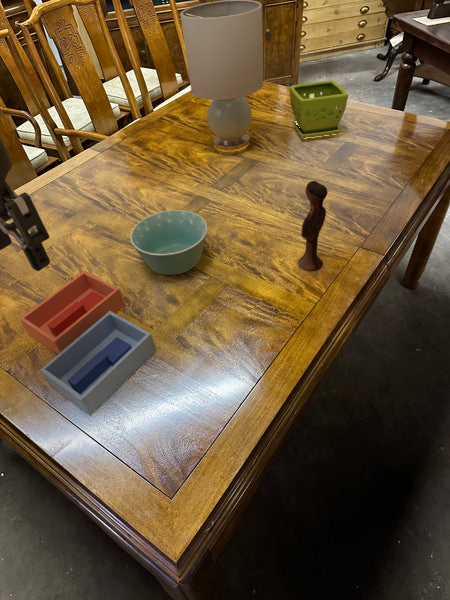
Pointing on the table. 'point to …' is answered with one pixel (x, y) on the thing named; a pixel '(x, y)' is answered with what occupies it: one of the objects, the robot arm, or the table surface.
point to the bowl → (170, 240)
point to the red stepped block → (74, 313)
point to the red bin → (62, 301)
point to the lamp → (225, 65)
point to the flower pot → (318, 108)
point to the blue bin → (88, 348)
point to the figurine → (313, 226)
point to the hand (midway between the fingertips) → (22, 256)
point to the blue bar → (98, 364)
